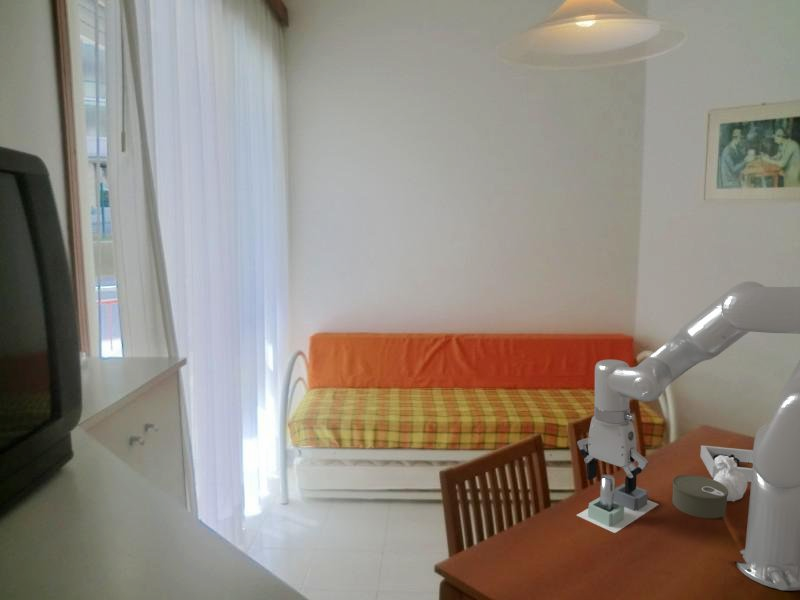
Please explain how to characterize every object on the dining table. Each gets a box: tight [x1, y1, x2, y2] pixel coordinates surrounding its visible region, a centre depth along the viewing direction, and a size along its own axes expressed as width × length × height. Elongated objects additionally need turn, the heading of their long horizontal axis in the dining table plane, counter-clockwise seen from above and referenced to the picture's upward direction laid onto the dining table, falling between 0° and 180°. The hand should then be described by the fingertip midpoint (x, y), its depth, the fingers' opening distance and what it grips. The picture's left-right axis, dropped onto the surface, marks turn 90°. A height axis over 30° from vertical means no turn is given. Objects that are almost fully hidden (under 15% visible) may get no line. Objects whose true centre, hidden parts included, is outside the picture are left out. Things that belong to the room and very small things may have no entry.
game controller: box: [713, 454, 740, 467], centre depth 162 cm, size 10×5×6 cm
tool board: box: [576, 483, 659, 534], centre depth 137 cm, size 20×10×4 cm, turn 129°
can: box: [671, 474, 728, 521], centre depth 138 cm, size 12×12×7 cm
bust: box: [712, 455, 748, 502], centre depth 147 cm, size 12×8×11 cm
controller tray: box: [699, 445, 753, 483], centre depth 161 cm, size 14×14×4 cm
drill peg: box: [599, 474, 616, 512], centre depth 133 cm, size 3×3×10 cm
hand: (610, 484), depth 132 cm, fingers open, 9 cm apart
